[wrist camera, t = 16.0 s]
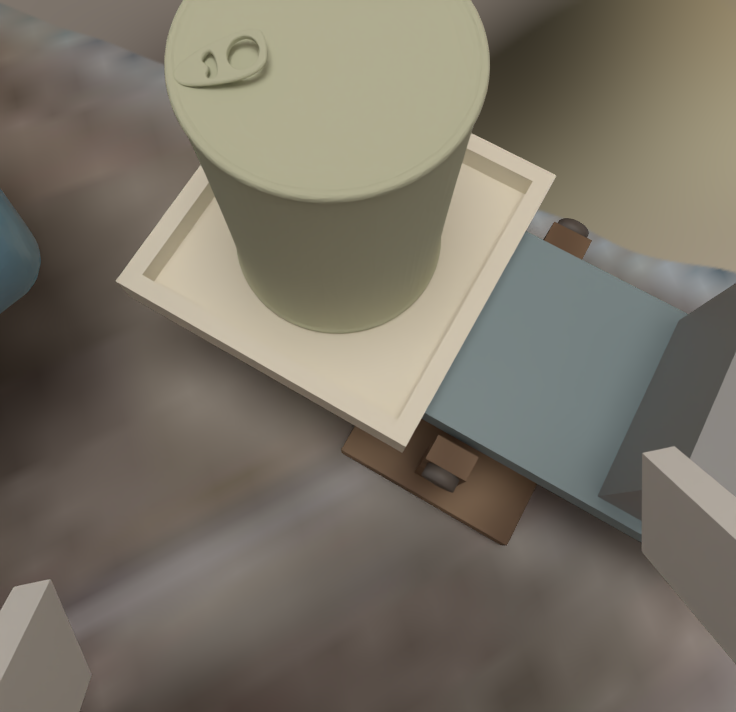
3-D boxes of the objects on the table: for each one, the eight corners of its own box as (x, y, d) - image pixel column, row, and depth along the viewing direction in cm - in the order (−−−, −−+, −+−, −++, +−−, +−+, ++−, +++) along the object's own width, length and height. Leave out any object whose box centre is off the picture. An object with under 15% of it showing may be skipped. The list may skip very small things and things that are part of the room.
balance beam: (142, 309, 30) (62, 226, 22) (296, 92, 33) (277, -51, 25) (733, 648, 27) (901, 701, 18) (840, 367, 30) (1022, 306, 22)
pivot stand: (341, 452, 36) (336, 430, 28) (464, 242, 39) (489, 171, 32) (500, 544, 34) (540, 548, 27) (612, 318, 38) (676, 263, 30)
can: (223, 166, 30) (138, -68, 18) (415, 134, 30) (452, -112, 19) (253, 352, 27) (177, 220, 16) (461, 313, 28) (535, 158, 16)
